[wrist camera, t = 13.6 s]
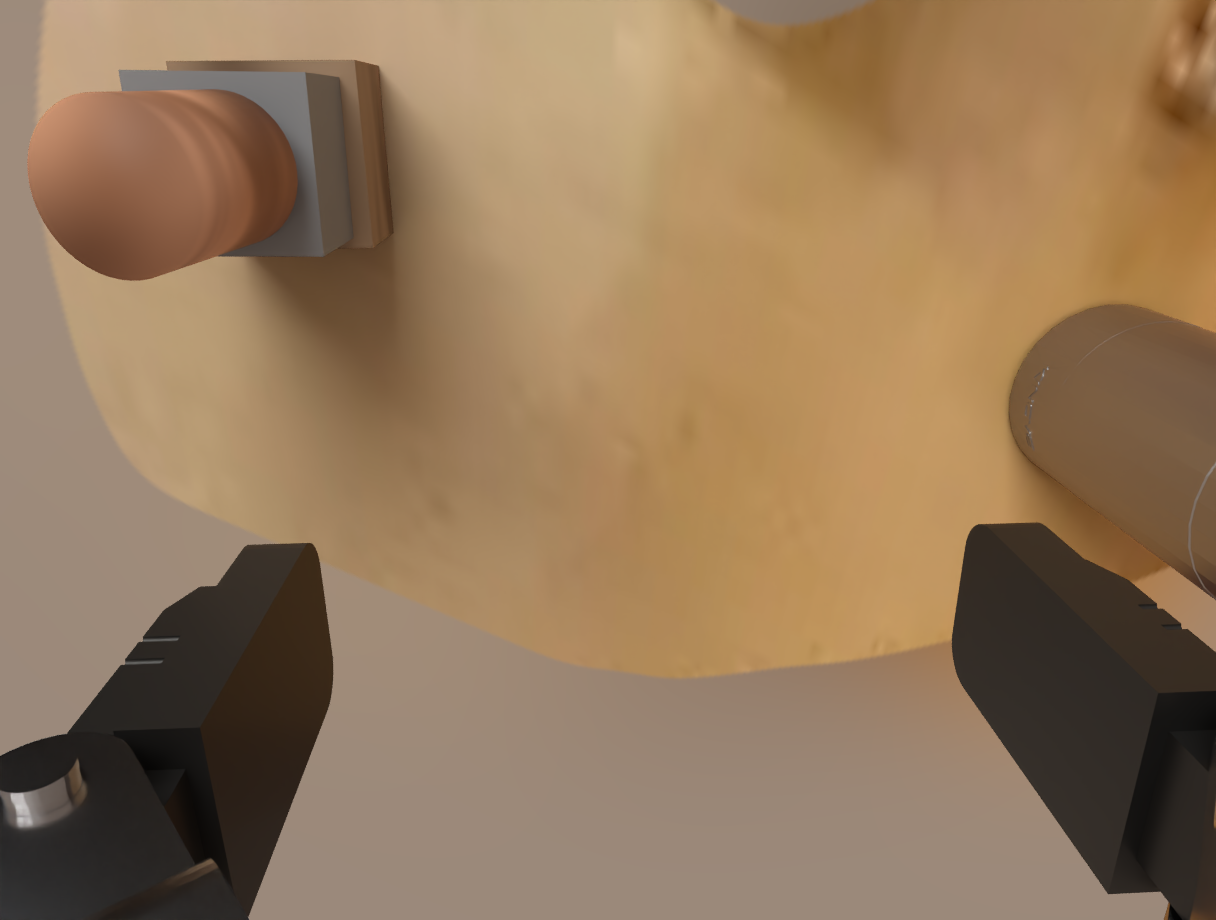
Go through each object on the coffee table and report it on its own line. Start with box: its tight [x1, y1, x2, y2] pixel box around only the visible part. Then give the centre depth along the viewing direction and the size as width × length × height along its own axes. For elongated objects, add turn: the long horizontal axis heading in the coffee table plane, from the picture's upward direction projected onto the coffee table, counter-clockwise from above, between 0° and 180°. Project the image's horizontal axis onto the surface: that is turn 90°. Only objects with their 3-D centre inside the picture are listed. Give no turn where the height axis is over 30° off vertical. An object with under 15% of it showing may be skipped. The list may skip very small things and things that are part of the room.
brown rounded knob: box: [27, 89, 298, 280], centre depth 28 cm, size 5×5×6 cm
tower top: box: [119, 70, 353, 257], centre depth 33 cm, size 6×6×5 cm
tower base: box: [166, 60, 393, 248], centre depth 38 cm, size 7×7×5 cm
